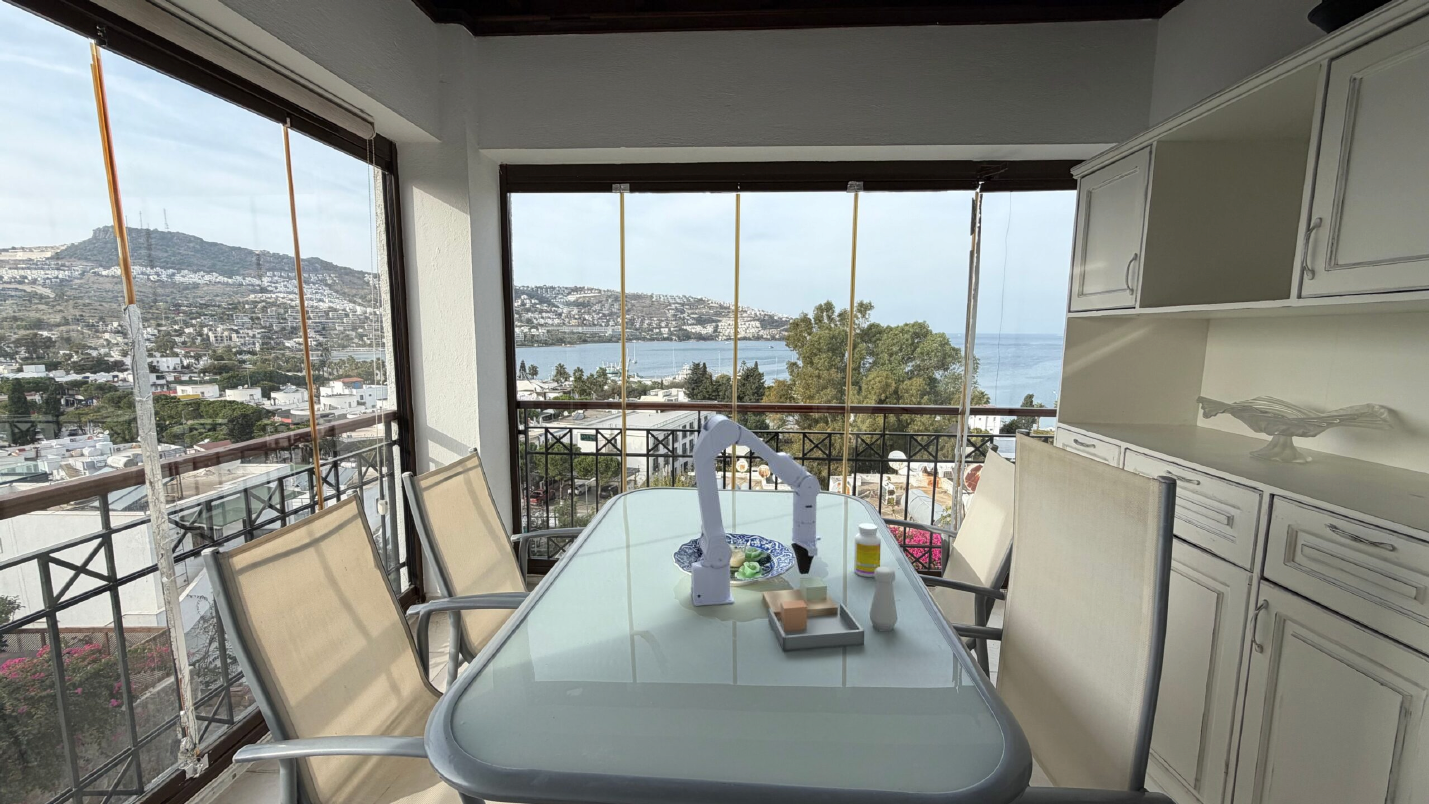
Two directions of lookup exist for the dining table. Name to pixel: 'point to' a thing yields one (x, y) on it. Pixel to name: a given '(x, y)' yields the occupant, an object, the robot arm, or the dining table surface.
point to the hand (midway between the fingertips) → (803, 572)
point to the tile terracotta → (793, 615)
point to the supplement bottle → (867, 550)
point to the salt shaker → (883, 600)
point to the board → (813, 606)
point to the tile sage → (813, 588)
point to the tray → (820, 632)
